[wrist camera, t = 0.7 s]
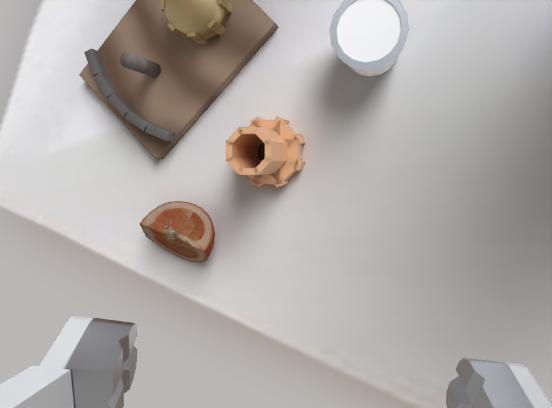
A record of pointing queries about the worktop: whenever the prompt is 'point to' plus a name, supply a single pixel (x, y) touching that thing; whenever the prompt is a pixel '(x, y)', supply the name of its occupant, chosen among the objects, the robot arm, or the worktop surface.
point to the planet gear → (266, 151)
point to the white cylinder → (369, 34)
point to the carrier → (173, 63)
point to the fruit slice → (181, 230)
